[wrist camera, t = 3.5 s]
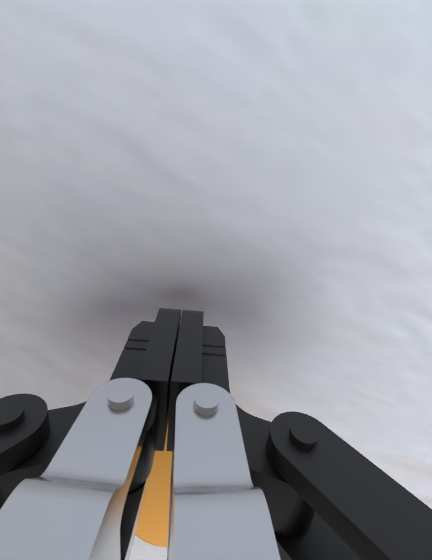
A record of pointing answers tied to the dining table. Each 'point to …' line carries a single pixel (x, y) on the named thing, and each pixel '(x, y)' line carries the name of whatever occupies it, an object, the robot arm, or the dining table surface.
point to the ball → (157, 501)
